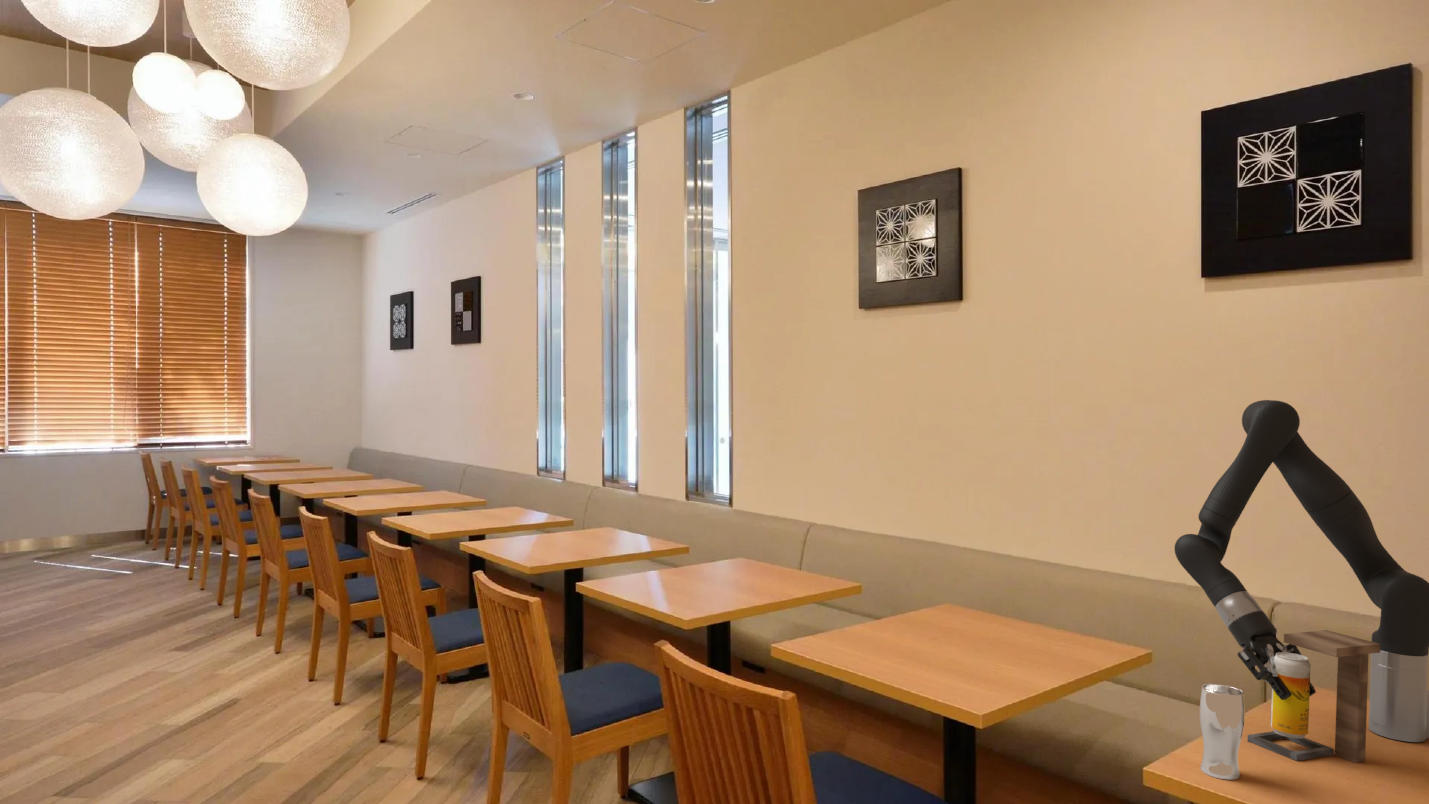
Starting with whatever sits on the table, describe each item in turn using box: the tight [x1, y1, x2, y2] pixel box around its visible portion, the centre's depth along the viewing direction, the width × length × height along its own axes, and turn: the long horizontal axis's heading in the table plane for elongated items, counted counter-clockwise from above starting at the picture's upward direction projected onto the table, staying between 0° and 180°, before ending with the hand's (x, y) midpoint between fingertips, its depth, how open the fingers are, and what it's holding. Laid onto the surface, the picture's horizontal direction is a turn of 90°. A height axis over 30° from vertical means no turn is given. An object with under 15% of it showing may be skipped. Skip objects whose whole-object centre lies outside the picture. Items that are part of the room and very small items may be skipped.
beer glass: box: [1199, 683, 1246, 781], centre depth 158 cm, size 7×7×15 cm
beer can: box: [1270, 652, 1311, 738], centre depth 171 cm, size 6×6×15 cm
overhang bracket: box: [1247, 629, 1380, 764], centre depth 169 cm, size 13×16×23 cm
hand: (1299, 696), depth 170 cm, fingers closed on beer can, 6 cm apart
